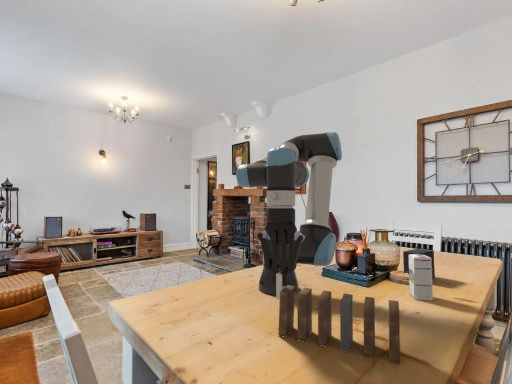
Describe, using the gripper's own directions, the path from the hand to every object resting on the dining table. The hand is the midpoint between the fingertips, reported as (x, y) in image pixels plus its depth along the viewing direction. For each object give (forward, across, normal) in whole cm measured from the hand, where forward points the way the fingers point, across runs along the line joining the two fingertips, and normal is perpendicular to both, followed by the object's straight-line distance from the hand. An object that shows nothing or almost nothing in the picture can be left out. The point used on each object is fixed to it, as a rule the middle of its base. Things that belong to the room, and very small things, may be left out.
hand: (280, 297), depth 72 cm
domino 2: (+9, +6, 0) cm, 11 cm away
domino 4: (+9, +16, 0) cm, 19 cm away
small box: (+9, +36, +72) cm, 81 cm away
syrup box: (+9, +35, +45) cm, 57 cm away
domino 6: (+9, +26, +1) cm, 28 cm away
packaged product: (+9, +13, +65) cm, 67 cm away
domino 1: (+9, +1, 0) cm, 9 cm away
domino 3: (+9, +11, 0) cm, 14 cm away
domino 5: (+9, +21, +1) cm, 23 cm away
